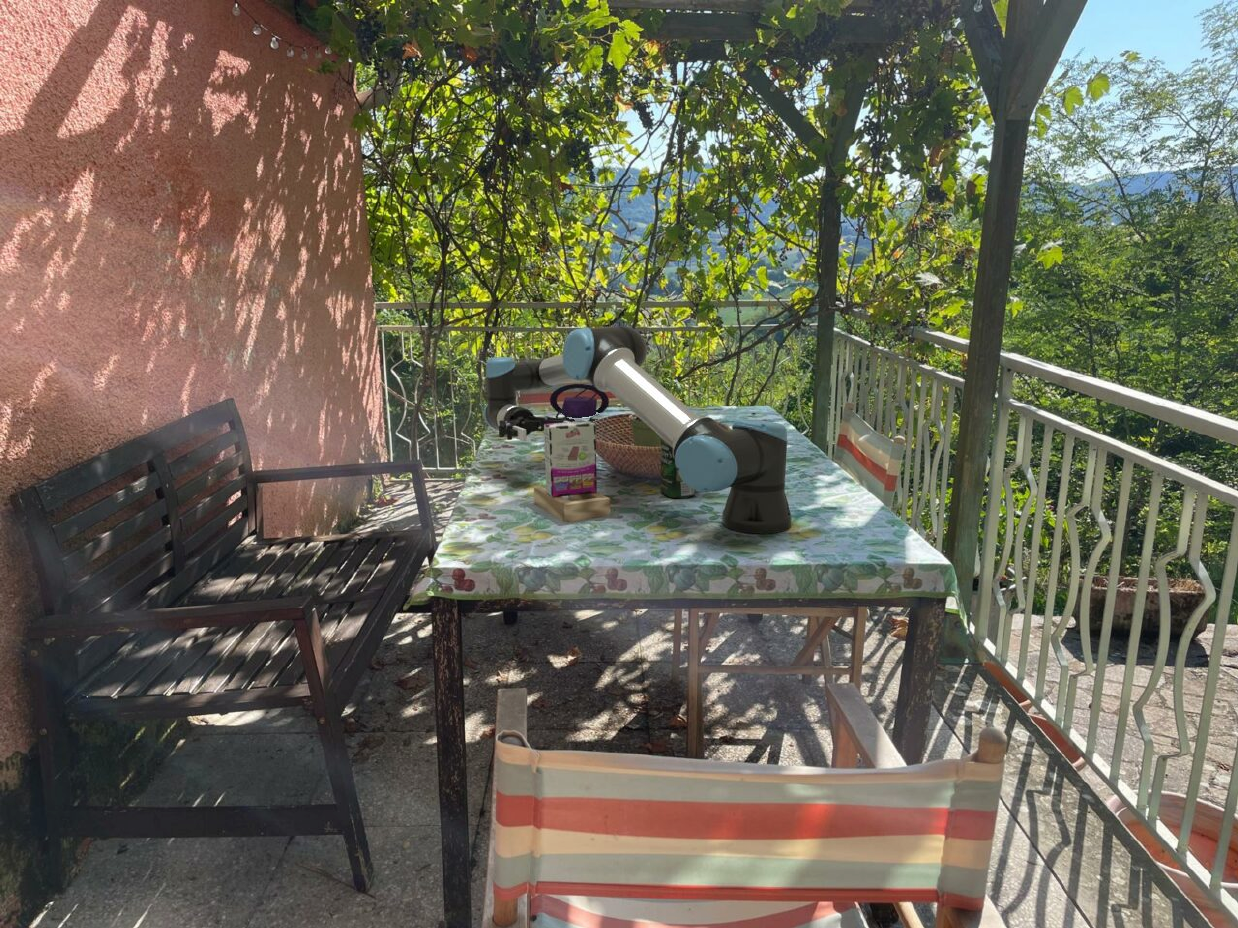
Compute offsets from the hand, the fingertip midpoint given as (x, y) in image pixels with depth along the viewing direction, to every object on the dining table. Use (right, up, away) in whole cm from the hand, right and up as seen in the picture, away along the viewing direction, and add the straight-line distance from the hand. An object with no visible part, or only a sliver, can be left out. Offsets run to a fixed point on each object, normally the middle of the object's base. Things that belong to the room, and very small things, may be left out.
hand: (551, 432), depth 201 cm
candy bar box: (+5, -14, -6) cm, 16 cm away
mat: (+5, -19, -5) cm, 20 cm away
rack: (+5, -18, -5) cm, 19 cm away
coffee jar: (+31, -15, +11) cm, 36 cm away
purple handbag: (+1, +8, +112) cm, 112 cm away
